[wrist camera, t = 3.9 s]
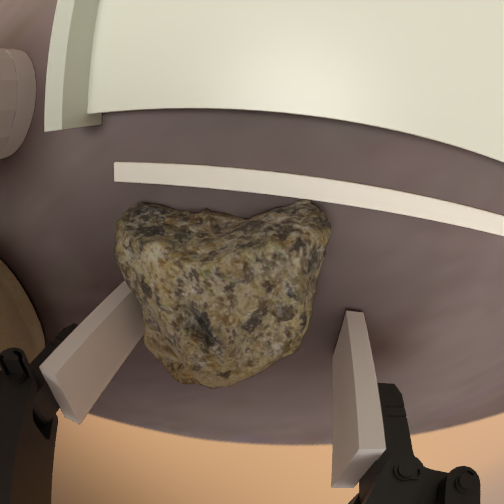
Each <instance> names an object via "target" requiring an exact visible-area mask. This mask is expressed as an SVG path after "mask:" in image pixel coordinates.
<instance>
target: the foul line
mask: <svg viewBox="0 0 504 504" xmlns="http://www.w3.org/2000/svg"><path fill="white" fill-rule="evenodd" d="M114 181H115V182H135V183H151V184H166V185H179V186H192V187H203V188H214V189H225V190H235V191H244V192H253V193H262V194H271V195H279V196H287V197H295V198H302V199H310V200H317V201H324V202H331V203H337V204H344V205H350V206H357V207H363V208H369V209H375V210H381V211H386V212H392V213H398V214H403V215H408V216H414V217H419V218H424V219H429V220H434V221H439V222H444V223H449V224H454V225H458V226H463V227H467V228H472V229H476V230H481V231H485V232H489V233H493V234H498V235H502V236H504V216H503V215H500V214H496V213H492V212H489V211H485V210H481V209H477V208H474V207H470V206H466V205H462V204H458V203H453V202H449V201H445V200H441V199H436V198H432V197H427V196H423V195H418V194H413V193H408V192H403V191H398V190H393V189H388V188H382V187H377V186H371V185H366V184H360V183H354V182H347V181H341V180H335V179H328V178H321V177H314V176H307V175H299V174H291V173H283V172H274V171H265V170H255V169H245V168H234V167H222V166H209V165H193V164H176V163H152V162H114Z"/></svg>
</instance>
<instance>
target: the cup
mask: <svg viewBox="0 0 504 504" xmlns="http://www.w3.org/2000/svg"><path fill="white" fill-rule="evenodd" d="M35 99H36V77H35V71H34V67H33V64H32V61H31V59H30V58H29V56H28V55H27V54H26V53H25V52H24V51H22V50H18V49H0V159H2V158H5V157H9V156H10V155H12V154H13V153H15V152H16V151H17V150H18V148H19V147H20V146H21V144H22V143H23V141H24V139H25V137H26V135H27V132H28V130H29V127H30V124H31V121H32V117H33V112H34V107H35Z"/></svg>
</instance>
